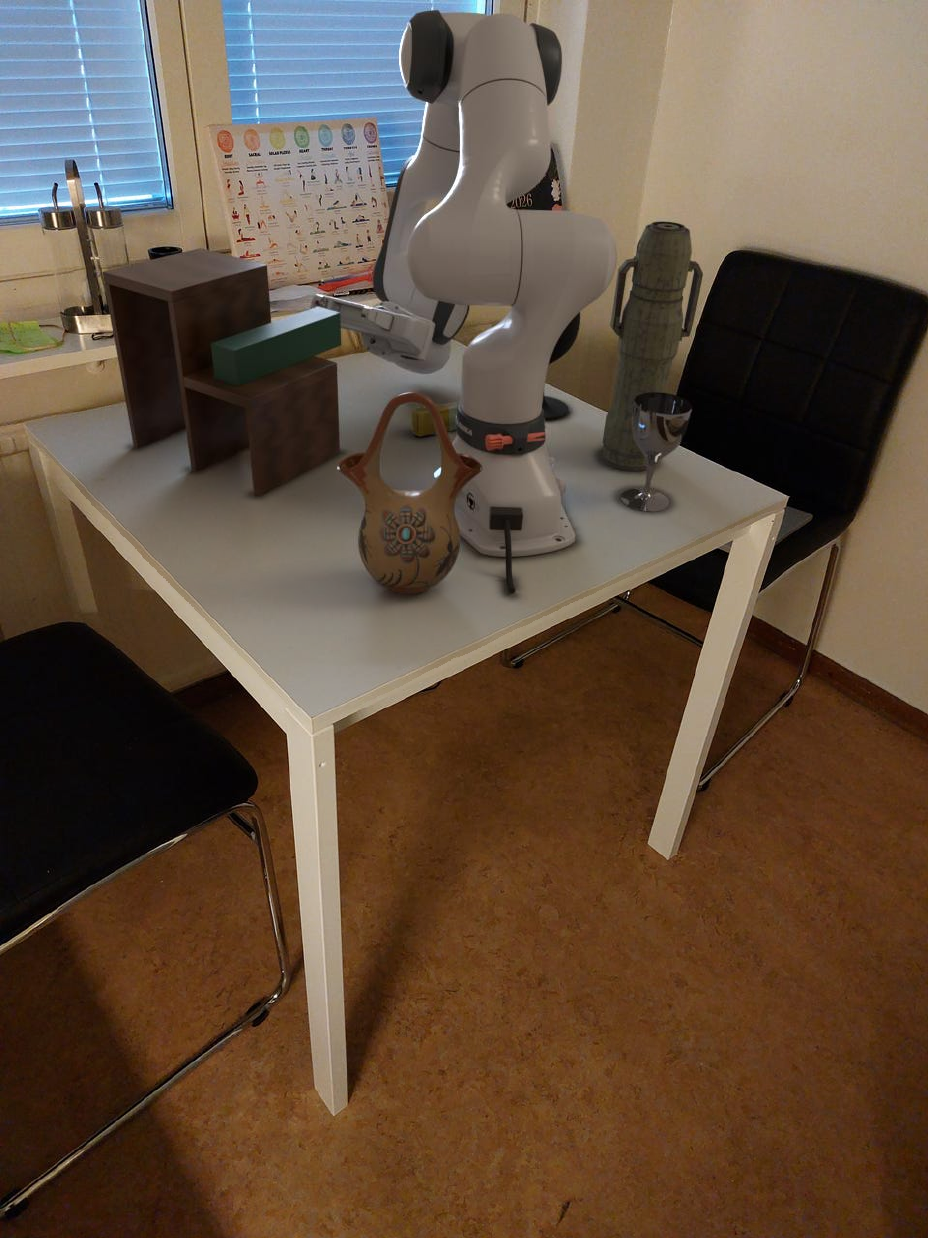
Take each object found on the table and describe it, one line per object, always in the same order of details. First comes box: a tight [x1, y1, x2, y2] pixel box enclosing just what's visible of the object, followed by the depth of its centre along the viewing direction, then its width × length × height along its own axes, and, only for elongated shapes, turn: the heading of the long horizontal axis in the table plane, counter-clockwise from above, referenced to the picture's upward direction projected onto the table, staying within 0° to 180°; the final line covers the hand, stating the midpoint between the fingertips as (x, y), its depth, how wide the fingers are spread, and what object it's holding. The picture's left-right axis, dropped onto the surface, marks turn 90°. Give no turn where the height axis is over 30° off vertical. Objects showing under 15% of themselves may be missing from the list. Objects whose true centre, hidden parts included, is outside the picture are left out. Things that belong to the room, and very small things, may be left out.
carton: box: [211, 307, 342, 387], centre depth 128 cm, size 22×4×5 cm, turn 147°
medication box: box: [410, 400, 460, 437], centre depth 147 cm, size 12×3×4 cm, turn 122°
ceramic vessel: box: [336, 391, 483, 595], centre depth 103 cm, size 16×9×25 cm, turn 95°
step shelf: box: [101, 247, 341, 497], centre depth 131 cm, size 18×26×26 cm
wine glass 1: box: [542, 311, 581, 421], centre depth 152 cm, size 10×10×20 cm
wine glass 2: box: [620, 392, 693, 513], centre depth 127 cm, size 8×8×15 cm
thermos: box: [600, 220, 704, 472], centre depth 133 cm, size 9×12×35 cm
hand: (340, 306), depth 136 cm, fingers open, 8 cm apart
